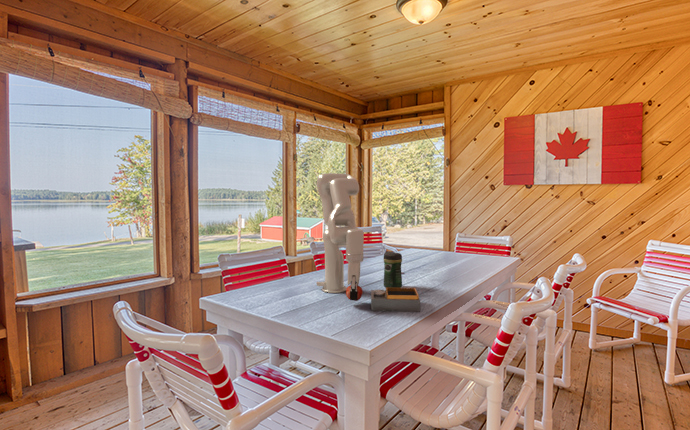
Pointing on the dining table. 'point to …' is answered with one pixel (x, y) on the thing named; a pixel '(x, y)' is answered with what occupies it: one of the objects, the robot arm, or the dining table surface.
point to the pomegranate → (357, 290)
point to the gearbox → (395, 300)
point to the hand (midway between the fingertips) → (354, 296)
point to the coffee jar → (392, 270)
